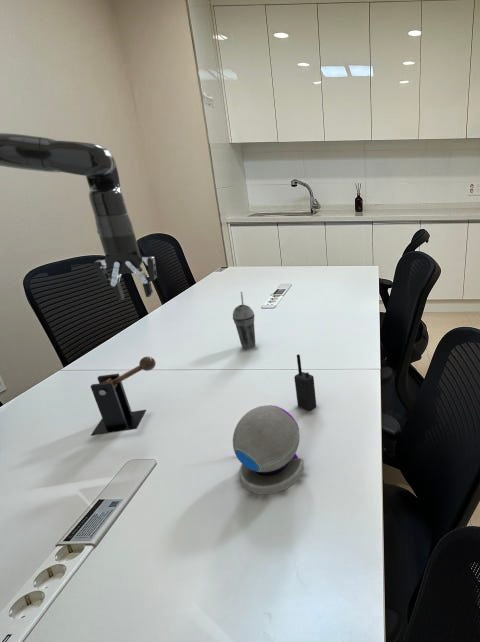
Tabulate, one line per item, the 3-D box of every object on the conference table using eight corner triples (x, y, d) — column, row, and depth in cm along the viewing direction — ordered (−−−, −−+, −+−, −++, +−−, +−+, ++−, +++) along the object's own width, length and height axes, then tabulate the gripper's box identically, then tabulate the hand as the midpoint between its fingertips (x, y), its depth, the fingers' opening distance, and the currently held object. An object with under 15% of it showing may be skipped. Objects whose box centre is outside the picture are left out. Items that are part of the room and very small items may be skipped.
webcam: (315, 462, 83) (308, 404, 77) (273, 504, 73) (262, 441, 67) (270, 443, 89) (261, 387, 83) (226, 479, 79) (212, 419, 73)
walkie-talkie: (317, 405, 103) (312, 355, 97) (308, 412, 100) (303, 361, 94) (304, 400, 105) (298, 351, 99) (295, 406, 103) (289, 356, 97)
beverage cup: (234, 350, 135) (223, 295, 127) (245, 341, 142) (235, 289, 133) (252, 352, 134) (243, 296, 125) (263, 343, 140) (254, 290, 132)
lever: (160, 362, 95) (150, 351, 93) (156, 368, 92) (146, 357, 90) (110, 390, 95) (99, 380, 93) (104, 397, 92) (93, 387, 90)
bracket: (147, 413, 102) (133, 369, 96) (138, 432, 94) (122, 385, 89) (105, 419, 100) (88, 374, 94) (92, 438, 92) (73, 391, 87)
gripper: (152, 229, 101) (167, 291, 108) (90, 232, 98) (110, 295, 105) (143, 233, 94) (161, 299, 101) (77, 237, 91) (99, 304, 98)
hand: (135, 297), depth 103 cm, fingers open, 6 cm apart
